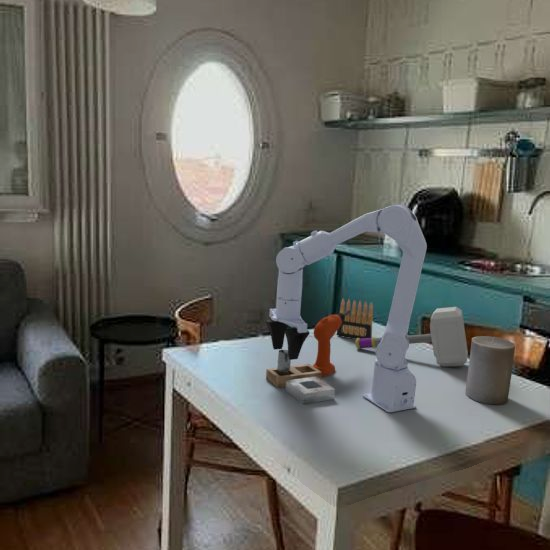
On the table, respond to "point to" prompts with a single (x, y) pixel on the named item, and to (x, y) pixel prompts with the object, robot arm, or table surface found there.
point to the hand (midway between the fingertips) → (285, 353)
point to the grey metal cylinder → (283, 363)
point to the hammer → (438, 337)
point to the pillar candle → (490, 370)
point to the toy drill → (327, 341)
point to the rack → (292, 374)
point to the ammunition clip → (356, 321)
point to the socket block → (310, 390)
